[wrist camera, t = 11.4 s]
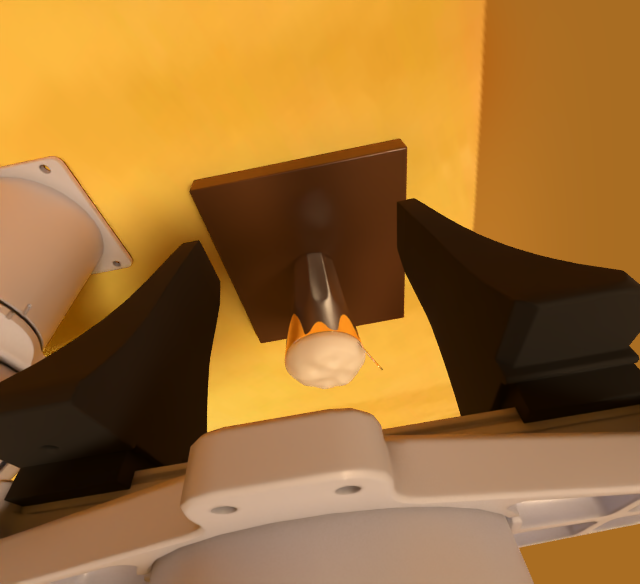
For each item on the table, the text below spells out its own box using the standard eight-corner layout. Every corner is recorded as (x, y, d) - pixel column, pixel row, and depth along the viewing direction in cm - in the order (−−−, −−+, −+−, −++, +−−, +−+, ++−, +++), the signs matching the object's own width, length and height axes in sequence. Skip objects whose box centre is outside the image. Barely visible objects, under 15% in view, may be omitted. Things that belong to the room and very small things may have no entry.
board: (261, 330, 31) (260, 343, 30) (193, 179, 21) (188, 191, 20) (399, 305, 31) (404, 317, 30) (400, 137, 20) (407, 147, 19)
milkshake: (364, 268, 25) (400, 386, 18) (306, 300, 27) (317, 420, 20) (331, 226, 22) (358, 347, 15) (269, 265, 24) (267, 390, 17)
